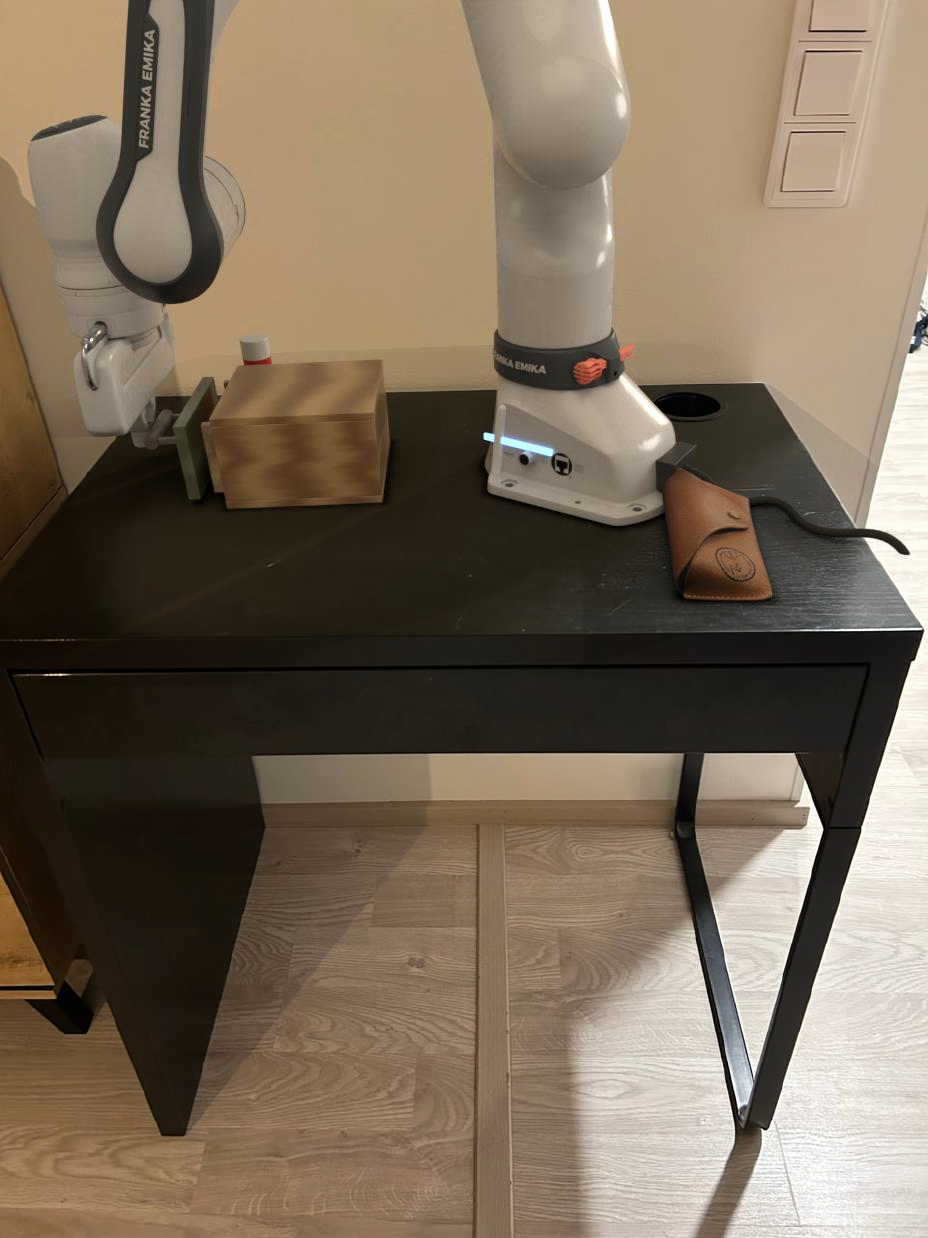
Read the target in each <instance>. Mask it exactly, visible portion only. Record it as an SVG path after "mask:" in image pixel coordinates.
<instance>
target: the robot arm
mask: <svg viewBox="0 0 928 1238" xmlns="http://www.w3.org/2000/svg"><path fill="white" fill-rule="evenodd" d="M239 2H240V0H127V20H126V35H125V54H124V75H123V95H122V115H121V119H122V120H121V125H120V124H119V123H117V122H116V121H114V120H113V118H111V117H109V116H106V115H101V114H91V115H85V116H79V117H76V118H73V119H70V120H67V121H66V120H65V121H63V122H60V123H58V124H54V125H51V126H48V127H46V128H43V129H41V130H39V131H38V132H36V134H34V136H32V138H31V139H30V142H29V143H28V145H27V150H26V151H27V153H26V154H27V155H26V158H27V168H28V170H27V171H28V175H29V181H30V187H31V192H32V196H33V197H32V198H33V201H34V205H35V210H36V214H37V217H38V222H39V226H40V229H41V233H42V236H43V238H44V239H45V241H46V242H47V244H48V246H49V248H50V250H51V252H52V255H53V259H54V267H55V271H54V276H55V277H54V278H55V282H56V286H57V289H58V290H57V291H58V293H59V296H60V301H61V304H62V307H63V311H64V316H65V318H66V322H67V327H68V329H69V332H70V334H71V335H72V336H75V337H76V338H79V339H80V341H79V342H80V347H81V349H80V350H79V351H78V352H77V354H76V355H75V356H74V358H73V363H72V364H73V365H72V367H73V378H74V384H75V389H76V393H77V399H78V402H79V407H80V412H81V416H82V420H83V421H82V422H83V424H84V427H85V429H86V430H87V432H88V433H89V435H91V436H92V437H95V438H103V437H104V438H106V437H107V438H108V437H109V438H110V437H120V436H121V437H122V436H126V435H127V434H128V433H129V432H130V435H131V439H132V443H133V445H134V447H136V448H146V447H145V446H144V443H143V440H144V438H145V436H146V435H147V433H148V432H149V430H150V429H151V427H152V426H153V424H154V423H155V421H156V397H155V393H156V392H157V391H158V389H159V387H160V386H162V384H163V382H164V381H165V380H166V378H167V377H168V375H169V374H170V372H171V371H172V369H173V368H174V366H175V357H176V352H175V351H176V350H175V349H176V348H175V342H174V335H173V330H172V323H171V317H170V312H169V309H168V305H179V304H184V303H188V302H190V301H193V300H195V299H198V298H199V297H200V296H202V295H203V294H205V292H207V291H208V289H209V288H210V287H211V286H212V284H214V282H215V280H216V278H217V275H218V273H219V270H220V268H221V266H222V264H223V262H225V260H226V259H227V257H228V256H229V254H230V253H231V251H232V249H234V247H235V246H236V244H237V242H238V240H239V238H240V237H241V235H242V232H243V230H244V227H245V223H246V213H247V212H246V210H247V209H246V203H245V198H244V195H243V192H242V189H241V187H240V186H239V183H238V181H237V180H236V178H235V177H234V176H233V175H232V174H231V172H230V171H229V170H228V169H227V168H226V167H225V166H224V165H223V164H221V163H220V162H219V161H217V160H216V159H213V158H212V157H210V156H207V155H206V149H207V138H208V137H207V135H208V123H209V112H210V111H209V109H210V97H211V84H212V73H213V66H214V62H215V56H216V52H217V49H218V45H219V42H220V40H221V36H222V34H223V31H224V30H225V26H226V25H227V22H228V20H229V18H230V17H231V15H232V13H233V11H234V10H235V8H236V6H237V5H238V3H239ZM460 3H461V6H462V10H463V14H464V18H465V23H466V25H467V29H468V33H469V36H470V37H469V38H470V40H471V44H472V48H473V51H474V55H475V59H476V64H477V66H478V71H479V74H480V78H481V82H482V85H483V89H484V93H485V97H486V100H487V104H488V109H489V112H490V115H491V124H492V125H491V127H492V157H493V158H492V160H493V189H494V191H493V193H494V194H493V195H494V218H495V219H494V221H495V223H494V225H495V254H496V255H495V256H496V257H495V259H496V260H495V261H496V299H497V300H496V301H497V302H496V303H497V307H496V308H497V309H496V310H497V328H496V329H495V330H494V333H493V348H492V356H493V369H494V371H495V373H497V386H496V397H495V408H494V416H493V423H492V431H491V433H489V432H484V433H483V440H486V441H489V446H488V450H487V453H486V456H485V460H484V467H485V471H486V473H487V474H488V478H487V487H486V489H487V492H488V493H489V494H491V495H493V496H498V497H500V498H501V497H502V498H505V499H509V500H513V501H517V502H521V503H524V504H528V505H532V506H536V507H540V508H542V509H544V508H545V509H547V510H551V511H555V512H559V513H563V514H567V515H570V516H575V517H578V518H582V519H586V520H589V521H593V522H597V523H600V524H605V525H609V526H614V527H623V526H629V525H633V524H634V525H635V524H638V523H642V522H645V521H649V520H651V519H654V518H656V517H658V516H660V515H662V514H665V511H664V505H663V498H662V487H663V484H664V482H665V481H666V480H667V479H668V478H669V477H671V476H672V475H673V474H674V472H675V470H676V469H677V468H682V469H683V470H686V471H688V472H690V473H691V474H693V475H694V476H696V477H698V478H700V479H701V480H703V481H705V482H708V483H710V484H713V485H716V486H717V484H716V482H715V480H714V479H712V478H711V476H709V475H708V474H706V473H705V472H703V471H701V470H699V469H698V468H695V464H696V453H697V445H696V444H694V443H689V442H684V441H680V440H679V441H677V440H676V432H675V428H674V425H673V423H672V421H671V420H670V419H669V418H668V417H667V415H665V414H664V413H663V412H662V411H661V410H660V408H658V407H657V405H656V404H654V403H653V401H652V400H651V399H650V398H649V397H648V396H647V395H646V394H645V393H644V392H643V391H642V389H641V388H640V387H639V386H638V385H637V384H636V382H634V380H633V379H632V378H631V377H630V376H629V375H628V374H627V373H626V372H625V370H626V365H625V362H624V360H626V359H628V358H631V357H633V356H635V353H633V352H632V353H631V351H632V350H633V349H634V348H635V345H634V344H633V343H632V344H629V345H627V346H625V347H623V348H621V347H620V344H619V340H618V337H617V333H616V331H615V329H614V327H613V326H612V321H613V298H614V279H615V259H616V238H615V226H614V225H615V223H614V201H613V198H614V197H613V196H614V195H613V166H614V164H615V163H616V162H617V160H618V159H619V157H620V155H621V154H622V152H623V149H624V147H625V145H626V143H627V140H628V136H629V132H630V129H631V123H632V122H631V121H632V99H631V94H630V89H629V84H628V80H627V75H626V72H625V71H626V70H625V67H624V63H623V62H624V61H623V57H622V54H621V49H620V46H619V45H620V44H619V41H618V36H617V33H616V28H615V24H614V20H613V17H612V12H611V8H610V5H609V4H610V3H609V0H460ZM747 498H748V500H749V507H753V506H754V507H755V506H760V505H761V506H762V505H763V506H764V505H768V506H769V505H770V506H774V507H776V508H779V509H782V510H784V511H785V512H786V513H787V514H788V515H789V516H790V517H791V518H792V520H793V521H794V522H795V523H796V524H797V525H798V526H799V527H801V529H802V528H803V529H804V530H805V531H807V532H809V533H812V534H814V535H817V536H821V537H827V538H837V539H838V538H841V539H843V538H847V539H848V538H864V539H865V538H866V539H873V540H877V541H881V542H883V543H885V544H888V545H889V546H890V547H892V548H893V549H894V550H895V551H896V552H897V553H898V554H899V555H903V556H910V555H911V552H910V550H909V549H908V547H907V546H906V545H905V544H904V542H902V541H901V540H900V539H899V538H897V537H896V536H895V535H892V534H890V533H889V532H886V531H883V530H880V529H874V528H863V527H862V528H858V527H857V528H835V527H826V526H821V525H819V524H818V525H817V524H815V523H813V522H811V521H809V520H807V519H806V518H805V517H804V516H803V514H802V513H801V512H800V511H799V510H798V509H797V508H796V507H795V506H794V505H793V504H792V503H790V502H788V501H787V500H785V499H782V498H780V497H778V496H777V497H776V496H770V495H760V496H753V497H747Z"/></svg>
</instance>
